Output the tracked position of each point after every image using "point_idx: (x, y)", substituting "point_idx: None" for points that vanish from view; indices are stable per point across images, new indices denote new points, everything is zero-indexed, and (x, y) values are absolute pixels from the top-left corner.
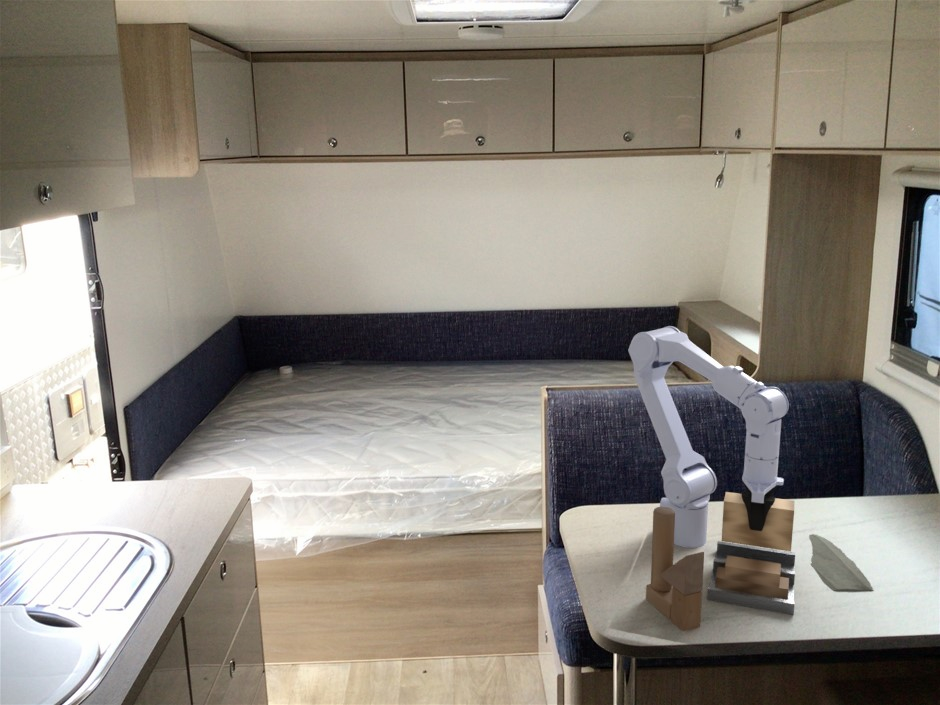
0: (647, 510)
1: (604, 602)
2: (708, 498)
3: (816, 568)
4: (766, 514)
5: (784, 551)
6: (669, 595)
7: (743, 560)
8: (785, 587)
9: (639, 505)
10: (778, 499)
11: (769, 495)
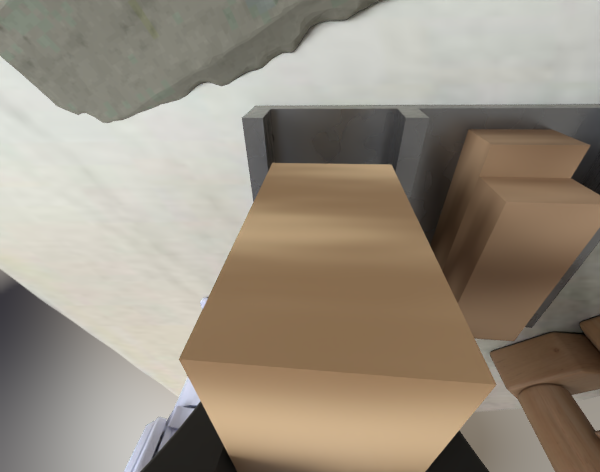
0: (162, 368)
1: (499, 399)
2: (184, 415)
3: (267, 16)
4: (468, 444)
5: (250, 157)
6: (582, 385)
7: (475, 305)
8: (571, 156)
9: (152, 375)
10: (235, 432)
11: (215, 470)
